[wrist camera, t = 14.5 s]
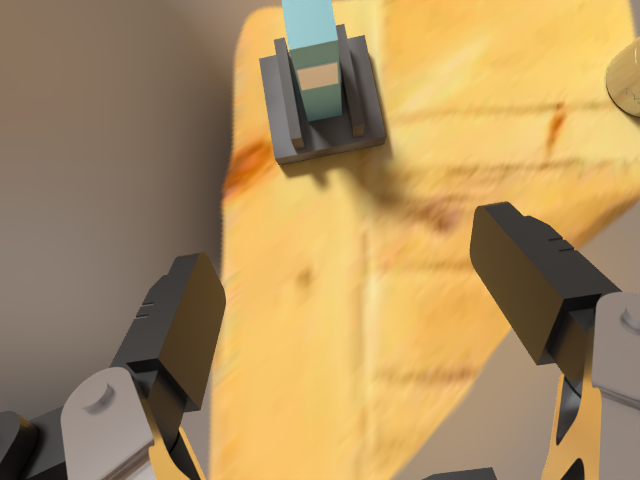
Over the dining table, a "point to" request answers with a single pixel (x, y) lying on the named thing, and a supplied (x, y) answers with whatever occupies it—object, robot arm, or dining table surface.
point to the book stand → (330, 133)
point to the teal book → (314, 55)
